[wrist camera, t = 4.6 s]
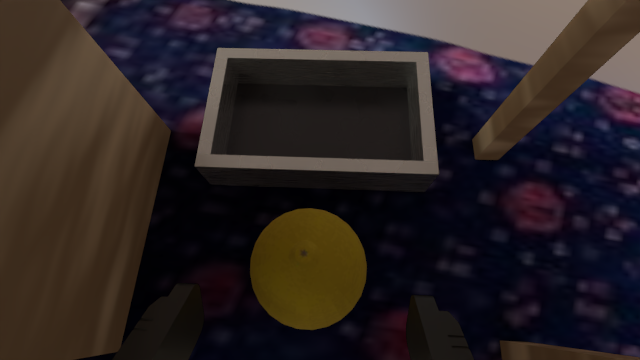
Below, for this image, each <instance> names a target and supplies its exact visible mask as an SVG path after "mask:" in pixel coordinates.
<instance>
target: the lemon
mask: <svg viewBox="0 0 640 360" xmlns="http://www.w3.org/2000/svg"><path fill="white" fill-rule="evenodd" d="M366 271H367V263H366V258H365V252H364V249H363V247H362V245H361V242H360V240H359V238H358V236H357V235H356V234H355V232H354V231H353V230H352V228H351V227H350V226H349V225H348V224H347V223H346V222H344V221H343V220H342V219H340V218H339V217H338V216H336V215H334V214H332V213H329V212H327V211H325V210H319V209H313V208H306V209H296V210H293V211H290V212H287V213H284V214H283V215H281V216H279V217H278V218H276V219H275V220H273V221H272V222H271V223H270V224H269V225H268V226H267V227H266V228H265V229H264V230H263V231H262V233H261V234H260V236H259V238H258V239H257V241H256V243H255V246H254V249H253V252H252V255H251V263H250V276H251V282H252V287H253V290H254V292H255V294H256V296H257V299H258V301H259V303H260V304H261V305H262V306H263V308H264V309H265V310H266V311H267V312H268V314H269V315H270V316H272V317H273V318H275V319H276V320H278V321H279V322H280V323H282V324H284V325H287V326H290V327H293V328H296V329H306V330H315V329H319V328H324V327H328V326H330V325H332V324H334V323H336V322H337V321H339V320H341V319H342V318H343V317H344V316H346V315H347V314H348V313H349V312H350V311H351V310H352V309H353V308H354V306H355V304H356V303H357V301H358V300H359V298H360V297H361V294H362V291H363V288H364V285H365V282H366Z"/></svg>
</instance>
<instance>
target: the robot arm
mask: <svg viewBox="0 0 640 360" xmlns="http://www.w3.org/2000/svg"><path fill="white" fill-rule="evenodd" d="M203 324H204V310H203V304H202V297H201V291H200V286H199V285H198V284H189V283H177V284H176V285H175V287H174V288H173V290H172V291H171V293H170V294H169V296H168V297H162V296H161V297H160V298H159V299H158V300H156V301H155V302H154V303H153V304H151V305H150V306H149V307H148V308H147V310H146V311H145V313H144V314H143V316H142V317H141V320H140V321H138V323H137V324H136V326H135V327H134V330H132V332H131V333H130V335H129V336H128V337H127V339H126V340H125V342H124V343H123V345H122V346H121V348H120V349H119V350H118V352H117V353H116V355H115V356H114V358H113V359H112V360H189V357H190V355H191V353H192V351H193V349H194V346H195V344H196V342H197V340H198V338H199V336H200V333H201V331H202V328H203ZM406 339H407V345H408V350H409V354H410V359H411V360H474V359H473V356H472V354H471V351H470V349H469V348H468V347H469V346H468V344H467V342H466V339H465V338H464V334H463V332H462V330H461V327H460V325H459V323H458V322H457V320H456V319H455V318H454V317H453V316H452V315H451V314H450V313H449V312H448V311H439V310H438V307H437V305H436V302H435V299H434V297H433V296H427V295H412V296H411V299H410V305H409V311H408V318H407V324H406Z"/></svg>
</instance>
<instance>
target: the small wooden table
mask: <svg viewBox="0 0 640 360" xmlns="http://www.w3.org/2000/svg"><path fill="white" fill-rule="evenodd" d="M639 32H640V0H588V1H587V2H586V3H585V5H584V6H583V7H582V8H581V9H580V11H579V12H578V13H577V14H576V15H575V17H574V18H573V19H572V20H571V22H570V23H569V24H568V25H567V26H566V27H565V29H564V30H563V31H562V32H561V34H560V35H559V36H558V37H557V38H556V39H555V41H554V42H553V43H552V44H551V46H550V47H549V48H548V49H547V51H546V52H545V53H544V54H543V55H542V56H541V58H540V59H539V60H538V61H537V62H536V64H535V65H534V66H533V67H532V68H531V70H530V71H529V72H528V73H527V74H526V76H525V77H524V78H523V79H522V80H521V82H520V83H519V84H518V85H517V86H516V88H515V89H514V90H513V91H512V92H511V94H510V95H509V96H508V97H507V98H506V100H505V101H504V102H503V103H502V104H501V106H500V107H499V108H498V109H497V110H496V112H495V113H494V114H493V115H492V116H491V118H490V119H489V120H488V121H487V123H486V124H485V125H484V126H483V127H482V129H481V130H480V131H479V132H478V133H477V135H476V136H475V137H474V138H473V139H472V141H473V148H474V156H475V159H477V160H499V159H500V158H501V157H502V156H503V155H504V154H505V153H506V152H507V151H508V150H510V149H511V148H512V147H513V146H514V145H515V144H516V143H517V142H518V141H520V140H521V139H522V138H523V137H524V136H525V135H526V134H527V133H528V132H530V131H531V130H532V129H533V128H534V127H535V126H536V125H537V124H538V123H539V122H541V121H542V120H543V119H544V118H545V117H546V116H547V115H548V114H549V113H551V112H552V111H553V110H554V109H555V108H556V107H557V106H558V105H559V104H560V103H562V102H563V101H564V100H565V99H566V98H567V97H568V96H569V95H570V94H572V93H573V92H574V91H575V90H576V89H577V88H578V87H579V86H580V85H582V84H583V83H584V82H585V81H586V80H587V79H588V78H589V77H590V76H591V75H593V74H594V73H595V72H596V71H597V70H598V69H599V68H600V67H601V66H603V65H604V64H605V63H606V62H607V61H608V60H609V59H610V58H611V57H612V56H614V55H615V54H616V53H617V52H618V51H619V50H620V49H621V48H622V47H624V46H625V45H626V44H627V43H628V42H629V41H630V40H631V39H632V38H634V36H636V35H637V34H638V33H639ZM170 133H171V130H170V129H169V128H168V127H167V126H166V124H165V123H164V122H163V121H162V120H161V118H160V117H159V116H158V115H157V114H156V113H155V111H154V110H153V109H152V108H151V107H150V106H149V104H148V103H147V102H146V101H145V100H144V99H143V97H142V96H141V95H140V94H139V93H138V91H137V90H136V89H135V88H134V87H133V86H132V84H131V83H130V82H129V81H128V80H127V79H126V77H125V76H124V75H123V74H122V73H121V72H120V70H119V69H118V68H117V67H116V66H115V64H114V63H113V62H112V61H111V60H110V59H109V57H108V56H107V55H106V54H105V53H104V52H103V50H102V49H101V48H100V47H99V46H98V45H97V43H96V42H95V41H94V40H93V39H92V37H91V36H90V35H89V34H88V33H87V32H86V30H85V29H84V28H83V27H82V26H81V25H80V23H79V22H78V21H77V20H76V19H75V17H74V16H73V15H72V14H71V13H70V12H69V10H68V9H67V8H66V7H65V6H64V5H63V3H62V2H61V1H60V0H0V360H75V359H81V358H86V357H92V356H97V355H103V354H108V353H114V352H118V350H119V349H120V348H121V343H122V339H123V335H124V330H125V326H126V322H127V318H128V313H129V309H130V305H131V300H132V296H133V292H134V288H135V283H136V279H137V275H138V270H139V266H140V262H141V257H142V253H143V249H144V245H145V240H146V236H147V232H148V227H149V223H150V219H151V215H152V210H153V206H154V202H155V197H156V193H157V189H158V185H159V180H160V176H161V172H162V167H163V163H164V159H165V155H166V150H167V146H168V142H169V137H170ZM500 347H501V355H502V360H640V357H633V356H625V355H618V354H611V353H604V352H596V351H589V350H582V349H575V348H568V347H560V346H553V345H546V344H539V343H531V342H518V341H500Z"/></svg>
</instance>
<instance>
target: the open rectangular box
mask: <svg viewBox="0 0 640 360" xmlns="http://www.w3.org/2000/svg"><path fill="white" fill-rule="evenodd" d="M195 168H196V169H197V170H198V171H199V172H200V173H201V174H202V175H203V176H204V178H205V179H206V180H207V181H208V182H209V183H210V184H211V185H233V186H262V187H291V188H320V189H349V190H378V191H407V192H425V191H426V190H427V189H428V187H429V186H430V185H431V184H432V182H433V181H434V180H435V179H436V177H437V176H438V175H439V169H438V159H437V148H436V137H435V126H434V115H433V104H432V93H431V82H430V71H429V60H428V52H388V51H339V50H290V49H241V48H217V54H216V59H215V64H214V69H213V74H212V79H211V84H210V89H209V94H208V100H207V105H206V110H205V115H204V120H203V125H202V130H201V135H200V140H199V146H198V151H197V156H196V161H195Z"/></svg>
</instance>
